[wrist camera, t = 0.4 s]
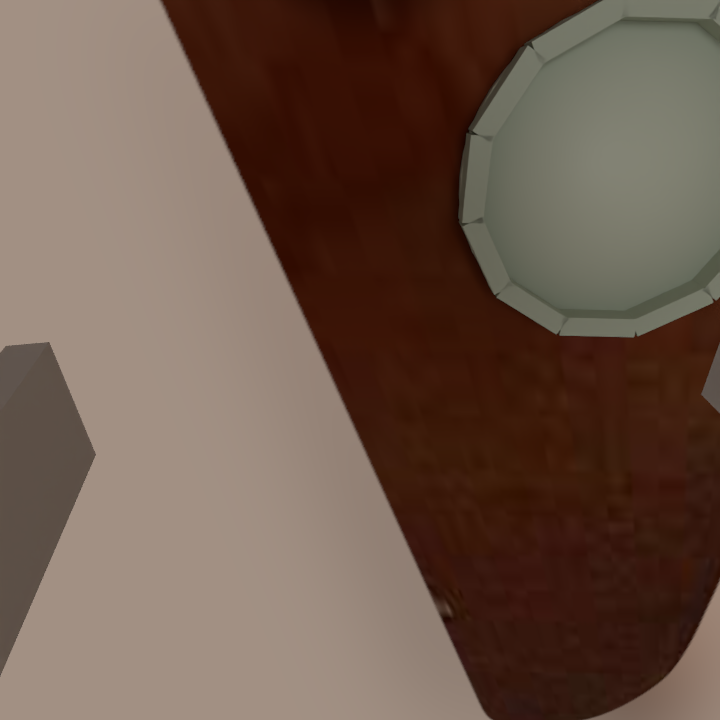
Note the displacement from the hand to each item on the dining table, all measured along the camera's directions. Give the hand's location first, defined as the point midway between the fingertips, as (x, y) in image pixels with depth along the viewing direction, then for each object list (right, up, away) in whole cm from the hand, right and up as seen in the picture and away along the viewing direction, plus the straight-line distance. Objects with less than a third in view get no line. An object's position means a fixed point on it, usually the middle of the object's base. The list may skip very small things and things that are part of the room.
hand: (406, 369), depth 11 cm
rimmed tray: (+14, +11, +23) cm, 29 cm away
